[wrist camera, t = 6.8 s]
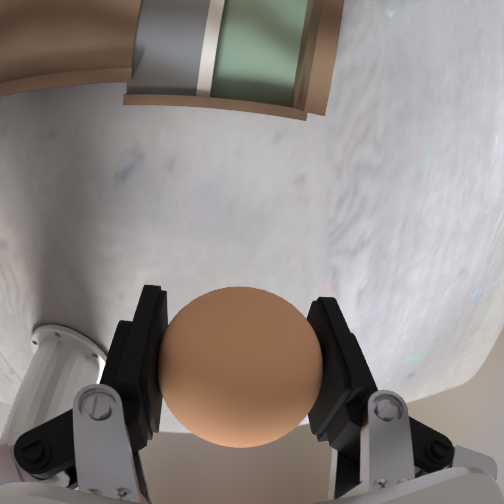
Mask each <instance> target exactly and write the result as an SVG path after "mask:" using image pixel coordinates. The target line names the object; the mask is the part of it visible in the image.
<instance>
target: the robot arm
mask: <svg viewBox="0 0 504 504" xmlns="http://www.w3.org/2000/svg"><path fill="white" fill-rule="evenodd" d="M307 321H308V322H309V324H310V325H311V327H312V328H313V330H314V332H315V334H316V336H317V339H318V341H319V344H320V348H321V353H322V358H323V376H322V383H321V387H320V391H319V394H318V396H317V399H316V401H315V403H314V405H313V407H312V408H311V410H310V411H309V413H308V418H309V423H310V427H311V431H312V433H313V434H314V435H315V434H316V435H317V439H318V441H319V442H320V441H329V445H330V446H331V447H332V448H333V450H332V462H331V474H330V486H329V495H328V501H324V502H318V503H311V504H504V495H503V493H502V491H501V489H500V487H499V485H498V483H497V481H496V478H497V465H496V463H495V461H494V460H493V458H491V457H489V456H487V455H484V454H481V453H478V452H475V451H473V450H470V449H467V448H464V447H461V446H459V445H456V446H455V447H453V445H452V442H451V441H450V440H449V439H448V438H447V437H446V436H445V435H443V434H441V433H439V432H437V431H435V430H433V429H432V428H430V427H428V426H426V425H424V424H422V423H420V422H419V421H417V420H415V419H413V418H411V417H409V415H408V408H407V406H406V403H405V401H404V400H403V398H402V397H400V396H399V395H398V394H396V393H394V392H393V391H389V390H380V391H378V389H377V386H376V384H375V381H374V379H373V377H372V374H371V372H370V369H369V367H368V365H367V362H366V360H365V358H364V355H363V353H362V351H361V348H360V346H359V344H358V341H357V339H356V337H355V335H354V334H353V333H350V330H349V328H348V326H347V323H346V321H345V319H344V317H343V314H342V312H341V310H340V308H339V305H338V303H337V301H336V299H335V298H334V297H318V299H317V301H313V302H312V304H311V307H310V310H309V313H308V316H307ZM167 327H168V315H167V291H163V290H161V286H155V285H144V287H143V290H142V293H141V296H140V299H139V302H138V305H137V309H136V312H135V315H134V318H133V322H132V321H124V320H120V321H119V323H118V325H117V328H116V331H115V334H114V337H113V340H112V343H111V346H110V349H109V353H108V356H106V355H105V354H104V352H103V351H102V350H101V349H100V348H99V347H98V346H97V345H96V344H95V343H94V342H92V341H91V340H90V339H88V338H87V337H85V336H84V335H82V334H80V333H78V332H76V331H74V330H72V329H69V328H66V327H63V326H59V325H43V326H40V327H38V328H37V329H36V330H35V331H34V333H33V335H32V337H31V340H30V345H31V349H32V352H33V354H34V357H33V359H32V361H31V364H30V366H29V368H28V370H27V372H26V374H25V377H24V379H23V381H22V384H21V386H20V388H19V391H18V393H17V395H16V398H15V400H14V403H13V405H12V408H11V410H10V413H9V416H8V418H7V421H6V424H5V427H4V429H3V432H2V435H1V439H0V504H152V501H151V497H150V493H149V489H148V486H147V481H146V478H145V473H144V469H143V464H142V460H141V455H140V450H141V449H142V448H144V447H145V446H147V440H148V439H149V440H152V436H153V432H156V433H158V432H159V424H160V415H161V406H162V398H163V396H162V393H161V390H160V386H159V382H158V375H157V363H158V352H159V346H160V343H161V340H162V337H163V335H164V333H165V331H166V329H167ZM76 487H79V491H78V490H74V489H75V488H76Z"/></svg>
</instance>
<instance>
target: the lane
mask: <svg viewBox="0 0 504 504" xmlns="http://www.w3.org/2000/svg"><path fill="white" fill-rule="evenodd" d="M343 4H344V0H0V97H1V96H5V95H10V94H16V93H21V92H27V91H33V90H39V89H45V88H52V87H60V86H69V85H79V84H91V83H107V82H127V93H126V94H124V100H123V105H170V106H189V107H204V108H216V109H226V110H236V111H244V112H252V113H260V114H267V115H274V116H280V117H287V118H293V119H298V120H304V121H306V118H307V113H312V114H317V115H322V116H325V112H326V107H327V102H328V96H329V91H330V85H331V80H332V74H333V68H334V62H335V56H336V50H337V44H338V38H339V31H340V25H341V18H342V11H343Z"/></svg>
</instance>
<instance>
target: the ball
mask: <svg viewBox="0 0 504 504" xmlns="http://www.w3.org/2000/svg"><path fill="white" fill-rule="evenodd" d="M157 375H158V382H159V386H160V390H161V393H162V396H163V398H164V400H165V402H166V404H167V406H168V408H169V409H170V411H171V412H172V413H173V415H174V416H175V417H176V419H177V420H178V421H179V422H180V423H181V424H182V425H183V426H184V427H186V428H187V429H188V430H190V431H191V432H192V433H194V434H195V435H197V436H199V437H201V438H203V439H205V440H207V441H210V442H212V443H215V444H219V445H223V446H229V447H253V446H258V445H262V444H266V443H269V442H272V441H274V440H276V439H278V438H280V437H282V436H284V435H285V434H287V433H289V432H290V431H291V430H293V429H294V428H295V427H296V426H297V425H298V424H299V423H300V422H301V421H302V420H303V419H304V418H305V417H306V415H307V414H308V413H309V411H310V410H311V408H312V407H313V405H314V403H315V401H316V399H317V396H318V394H319V391H320V387H321V383H322V376H323V358H322V353H321V348H320V344H319V341H318V339H317V336H316V334H315V332H314V330H313V328H312V327H311V325H310V324H309V322H308V321H307V319H306V318H305V317H304V316H303V315H302V314H301V313H300V312H299V311H298V310H297V309H296V308H295V307H294V306H293V305H292V304H290V303H289V302H287V301H286V300H284V299H283V298H281V297H279V296H277V295H275V294H273V293H270V292H267V291H264V290H261V289H256V288H251V287H227V288H222V289H218V290H214V291H211V292H209V293H206V294H204V295H202V296H199V297H198V298H196V299H194V300H193V301H191V302H190V303H189V304H187V305H186V306H185V307H184V308H182V309H181V310H180V311H179V312H178V314H177V315H176V316H175V317H174V318H173V320H172V321H171V322H170V324H169V325H168V327H167V329H166V331H165V333H164V335H163V337H162V340H161V343H160V346H159V352H158V363H157Z"/></svg>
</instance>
